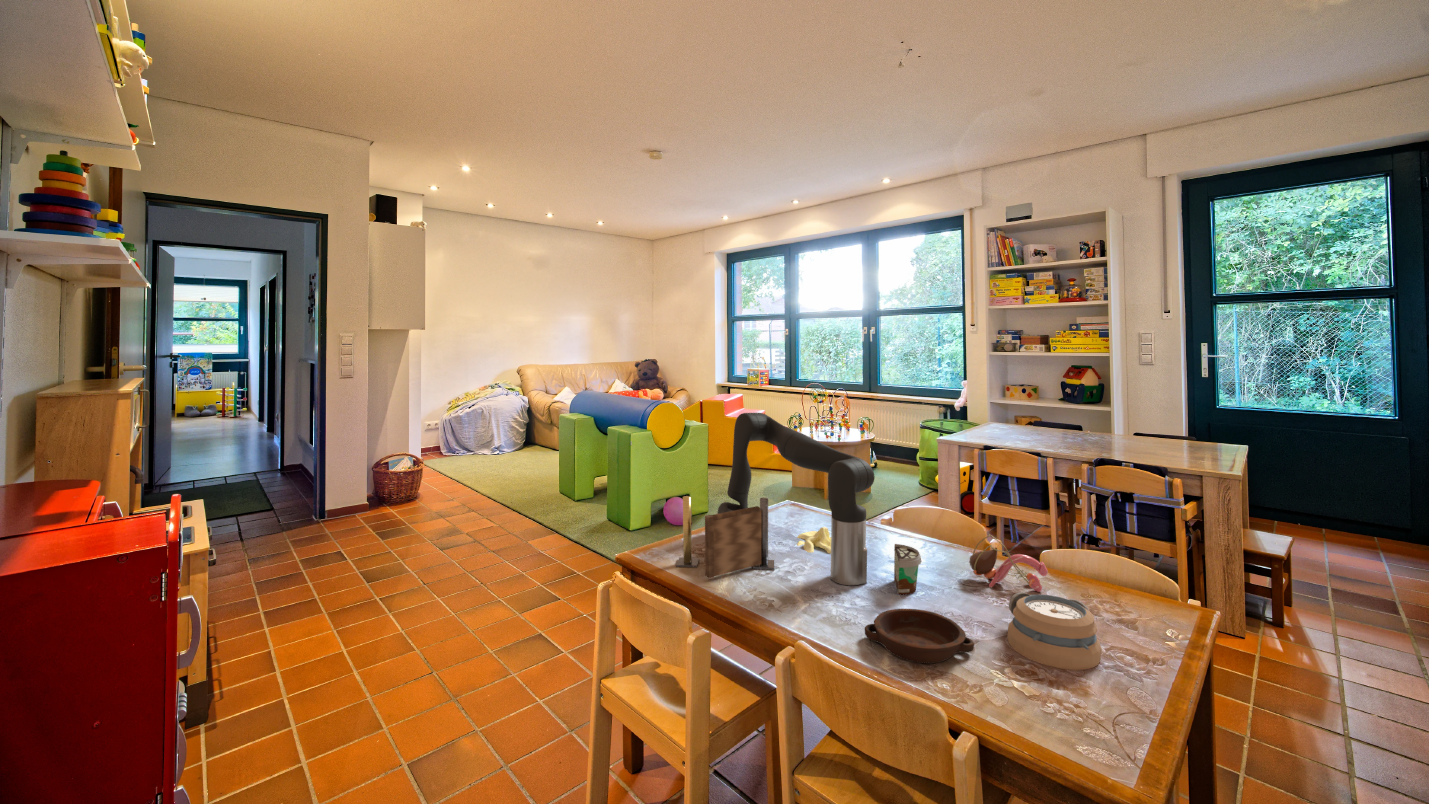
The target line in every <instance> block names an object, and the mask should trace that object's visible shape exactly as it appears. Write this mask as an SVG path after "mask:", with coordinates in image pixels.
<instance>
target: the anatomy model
mask: <svg viewBox="0 0 1429 804" xmlns="http://www.w3.org/2000/svg"><path fill="white" fill-rule="evenodd" d="M990 537H991V538H993V539H994V540H995V541H997V542H998V543H999V544H1001V546H1002V547H1003V548H1004V549H1005V551H1003V550H1001V549H998V548H997V547H995V548H994V547H993V544H990V545H988V546H986V547H985V548H984V549H983V550H982V551H978V552H976V550H977V548H978V546H979V545H980V543H982V542H984V540H985V539H987V538H990ZM990 547H991V549H989V550H987V549H988V548H990ZM998 552H1001V553H1005V554H1006V555H1007V557H1008V558H1006V559H1005V560H1004V561H1003V562H1002V563H1001V564H1000V565H999V566H998V567H997V568H995V565H996V562H997V559H998V558H997V557H998ZM968 563H969V566H970V567H971V570H973V571H972V572H973V574H974V575H975V576H978V577H979V576H984V578H985V579H989V580H990V579H992V580H991V581H990V583H989V584H988V587H989V588H993V587H994V586H995V585H996V583H997V584H998V583H1000V582H1001V583H1002V581H1004V580H1005V578H1006V577H1007V575H1008V574H1009V572H1010V570H1011V569H1012V567H1014V569H1015V570H1016V571H1017V572H1015V573H1013V575H1014V576H1015V577H1016V580H1018V579H1021V578H1023V580H1024V581H1025V582H1026V583H1027V584H1028V586H1029V587H1030V588H1031V589H1032V590H1033V591H1034V592H1038V593H1040V592H1042V590H1043V586H1042V584H1041V581H1040V579H1039V577H1038V576H1037V575H1036V574H1033V573H1031V572H1026V571H1025V572H1024V570H1023V569H1020V568H1019V566H1018V565H1017V564H1018V563H1023V564H1026V565H1029V566H1030V567H1032V568H1033V569H1034V570H1035V571H1037V573H1038V574H1039V575H1041V576H1042V577H1045V576H1047V575H1048V571H1049V570H1048V569H1047V566H1046V564H1045V563H1044V561H1038V560H1037V559H1036V558H1034V557H1032V556H1030V555H1026V554H1021V553H1017V554H1012V555H1011V554H1010V552H1009V550H1008V549H1007V547H1006V546H1005V545H1004V543H1002V542H1001V541H999V540H998V539H997V538H996V537H994V536H993V535H991V534H988V535H987V536H985V537H984V538H982V539H981V540H980V541H979V542H978V543H977V544H976V545H975V547H974V550H973V552H972V555H970V557H969V561H968ZM1017 575H1018V576H1017Z"/></svg>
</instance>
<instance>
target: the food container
mask: <svg viewBox="0 0 1429 804" xmlns="http://www.w3.org/2000/svg"><path fill="white" fill-rule="evenodd" d="M893 551H894V562H893V563H894V569H893V570H894V572H893V582H894V585H895V588H896V589H895V590H896V593H897V596H910V595H913V594H915V593H916V591H917V582H918V574H919V566H920V565H921V564H922V557H921V553H920V552H919V550H918V549H917V548H915V547H913V546H910V545H906V544H899V543H894V550H893Z"/></svg>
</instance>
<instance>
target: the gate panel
mask: <svg viewBox="0 0 1429 804" xmlns="http://www.w3.org/2000/svg"><path fill="white" fill-rule="evenodd" d="M704 558H705V559H704V561H705V563H704V564H705V565H704V569H705V571H704V573H705V574H704V576H705V577H706V578H707V579H712V578H714V577H716V576H721V575H725V574H729V573H733V572H736V571H740V570H744V569H748V568H752V567H753V566H756V565H760V564H761V510H760V506H757V505H756V506H751V507H748V508H745V509H740V510H735V511H730V512H725V513H720V514H717V513H715V514H706V515H704Z"/></svg>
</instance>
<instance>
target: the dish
mask: <svg viewBox="0 0 1429 804" xmlns="http://www.w3.org/2000/svg"><path fill="white" fill-rule="evenodd" d="M864 635H865V636H866V638H867V639H869V640H870V641H874V642H877V643H878V644H881V645H883V647H884V648H885V649H886V650H887V651H888V652H890V653H891V654H893V655H894V656H896V657H898V658H901V659H903V660H906V661H909V662H913V663H919V664H936V663H940V662H944V661H947V660H948V659H950V658H951V657H953V656H954V655H955V654H957V653H970V652H973V650H974V649H975V648H974V647H975V642H974V641H973V639H972V638H969V637H967V636H966V632H965V630H964V629H963V628H962V627H961V625H959V624H958V623H957V622H956V621H954V620H953V619H951V618H948V617H946V616H944V615H942V614H940V613H937V612H934V611H930V610H924V609H920V608H919V609H917V608H893V609H887V610H885V611H882V612H881V613H879V614H878V615H876V617H875V618H874V620H873V623H870V624H867V625H865V627H864Z"/></svg>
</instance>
